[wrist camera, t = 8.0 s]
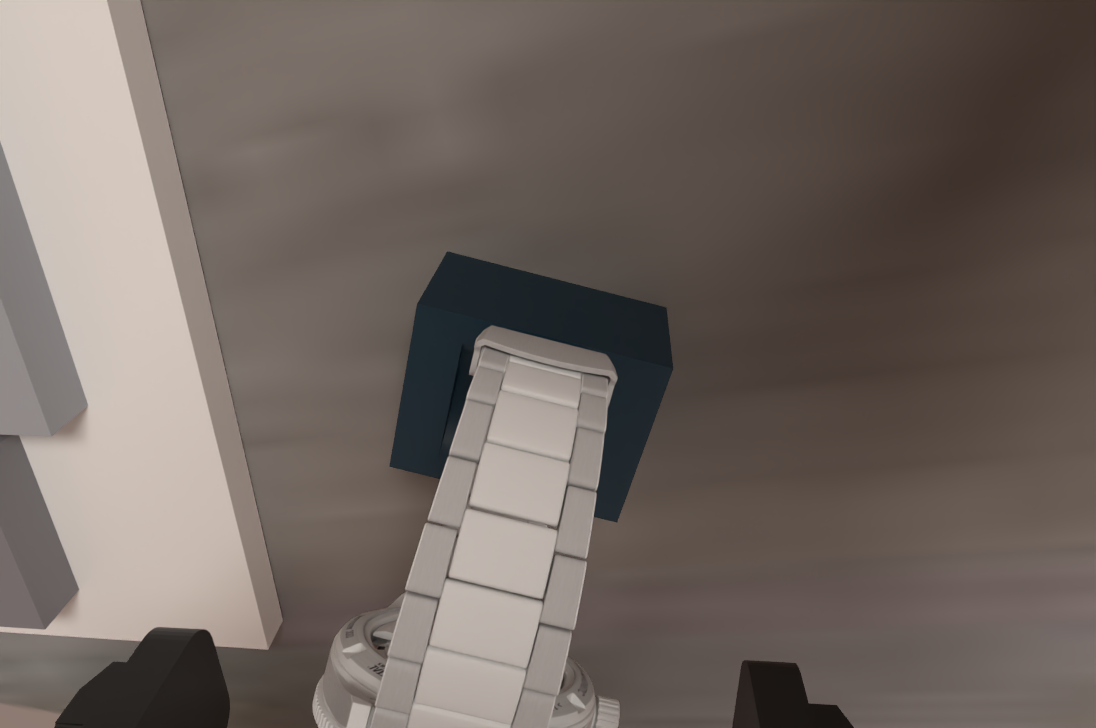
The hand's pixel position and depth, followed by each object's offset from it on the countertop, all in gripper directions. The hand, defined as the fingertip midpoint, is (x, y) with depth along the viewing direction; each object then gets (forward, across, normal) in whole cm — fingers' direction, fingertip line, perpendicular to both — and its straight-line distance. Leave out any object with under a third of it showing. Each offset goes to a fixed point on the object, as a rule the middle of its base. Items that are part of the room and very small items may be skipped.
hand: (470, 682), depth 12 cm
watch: (+10, 0, 0) cm, 10 cm away
